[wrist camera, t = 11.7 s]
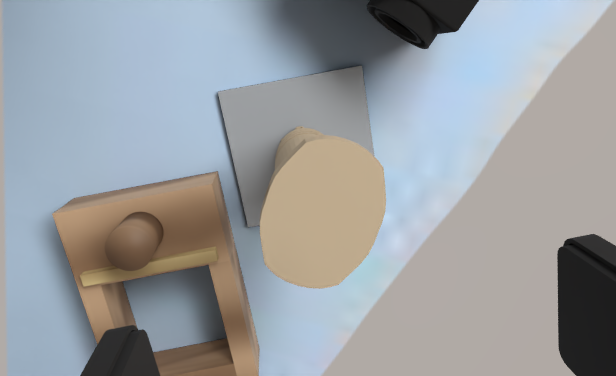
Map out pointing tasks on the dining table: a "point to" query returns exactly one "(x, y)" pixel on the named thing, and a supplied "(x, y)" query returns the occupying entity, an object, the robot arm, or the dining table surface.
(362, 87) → the mat
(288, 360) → the dining table surface
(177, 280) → the dining table surface
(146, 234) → the body
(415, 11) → the digital camera
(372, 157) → the handle
